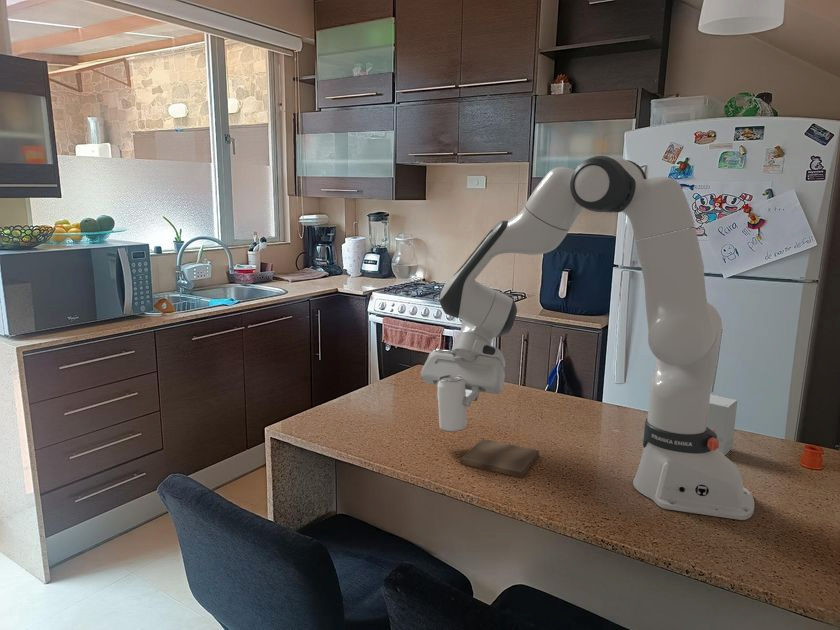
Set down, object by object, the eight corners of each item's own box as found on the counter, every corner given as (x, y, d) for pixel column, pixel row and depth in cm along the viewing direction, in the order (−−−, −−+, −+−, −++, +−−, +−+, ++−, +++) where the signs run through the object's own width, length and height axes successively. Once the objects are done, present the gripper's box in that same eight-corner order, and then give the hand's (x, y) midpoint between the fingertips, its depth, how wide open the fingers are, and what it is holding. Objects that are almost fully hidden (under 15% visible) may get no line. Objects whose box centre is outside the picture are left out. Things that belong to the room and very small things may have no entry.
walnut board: (538, 455, 140) (538, 450, 140) (521, 477, 129) (521, 472, 129) (482, 443, 147) (482, 438, 146) (460, 463, 135) (460, 458, 135)
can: (471, 425, 144) (469, 376, 142) (458, 434, 138) (456, 383, 136) (448, 421, 147) (446, 373, 145) (434, 429, 142) (431, 380, 140)
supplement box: (732, 449, 146) (739, 399, 143) (722, 459, 140) (729, 407, 138) (700, 441, 151) (706, 392, 148) (690, 449, 145) (695, 399, 143)
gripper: (427, 341, 150) (408, 389, 143) (506, 350, 141) (490, 403, 134) (435, 354, 155) (417, 402, 148) (512, 365, 145) (496, 416, 139)
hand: (452, 403), depth 141 cm, fingers closed on can, 5 cm apart
